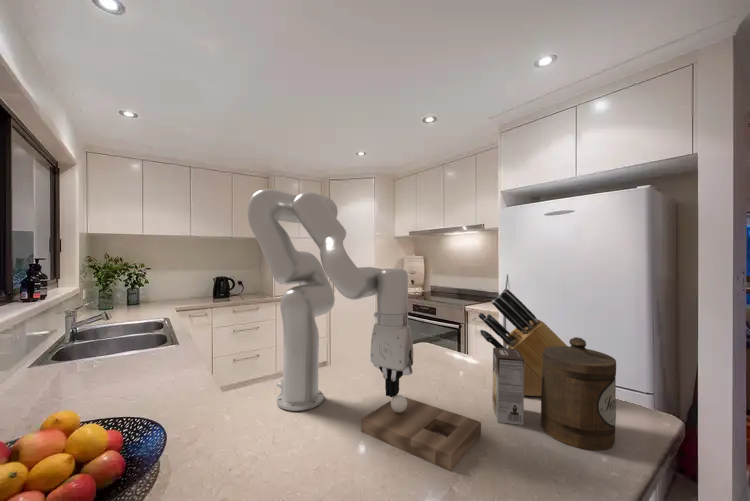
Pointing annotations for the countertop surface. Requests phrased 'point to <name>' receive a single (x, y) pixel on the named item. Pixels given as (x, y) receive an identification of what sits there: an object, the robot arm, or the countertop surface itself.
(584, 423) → the wooden container
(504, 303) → the knife block
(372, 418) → the board
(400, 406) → the ball
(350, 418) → the countertop surface
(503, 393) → the coffee box
